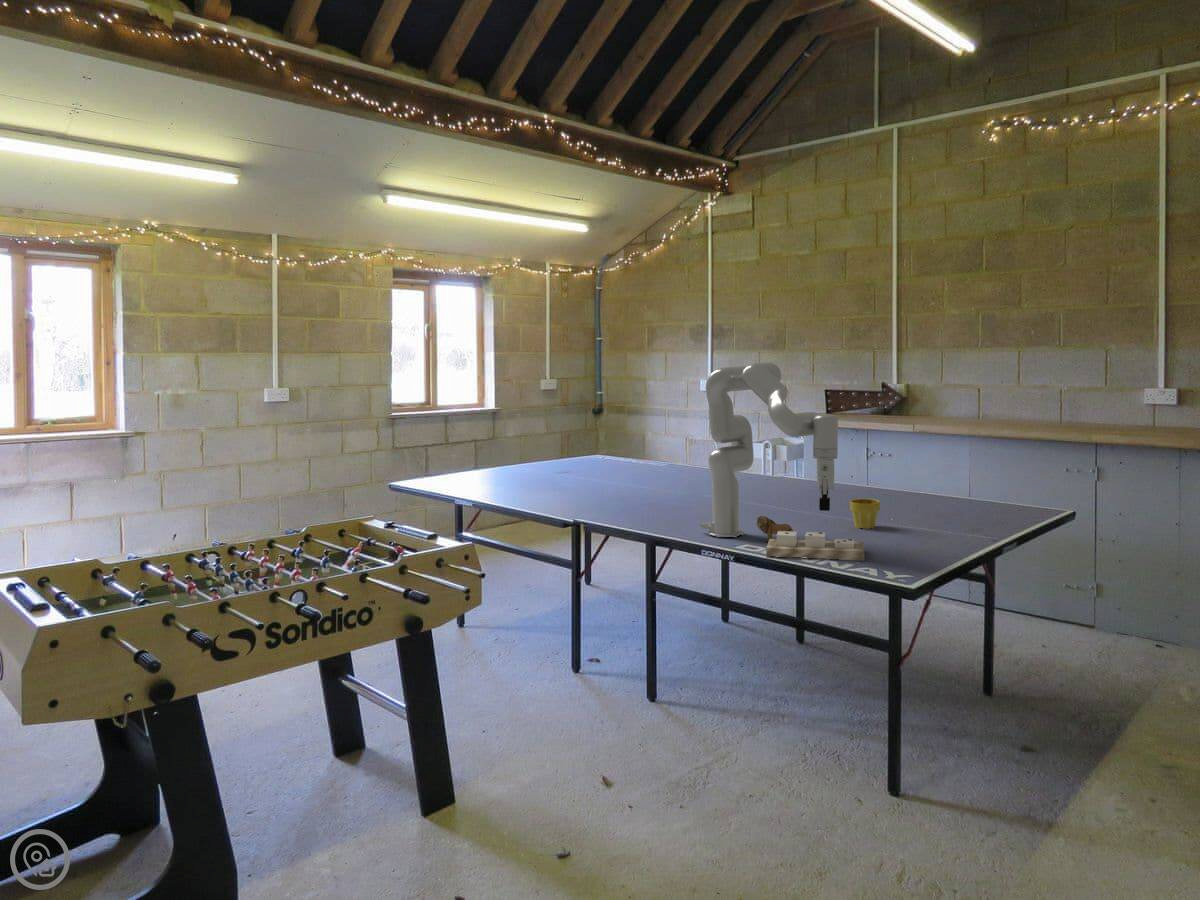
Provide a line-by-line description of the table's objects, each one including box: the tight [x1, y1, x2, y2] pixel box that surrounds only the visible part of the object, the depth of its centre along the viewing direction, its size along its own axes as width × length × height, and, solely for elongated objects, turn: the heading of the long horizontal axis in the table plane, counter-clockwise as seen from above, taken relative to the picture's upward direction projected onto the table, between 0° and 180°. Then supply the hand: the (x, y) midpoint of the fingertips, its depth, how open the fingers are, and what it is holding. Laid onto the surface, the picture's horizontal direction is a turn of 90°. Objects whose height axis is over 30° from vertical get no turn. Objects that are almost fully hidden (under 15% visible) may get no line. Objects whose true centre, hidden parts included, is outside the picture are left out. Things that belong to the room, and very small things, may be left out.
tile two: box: [804, 531, 826, 548], centre depth 278 cm, size 6×6×4 cm
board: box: [765, 538, 865, 562], centre depth 279 cm, size 30×13×3 cm, turn 74°
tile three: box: [834, 538, 855, 549], centre depth 276 cm, size 6×6×4 cm
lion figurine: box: [756, 515, 794, 541], centre depth 296 cm, size 15×5×9 cm, turn 66°
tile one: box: [776, 531, 798, 547], centre depth 281 cm, size 6×6×4 cm
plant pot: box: [849, 498, 881, 530], centre depth 315 cm, size 10×10×10 cm
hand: (824, 510), depth 276 cm, fingers closed
